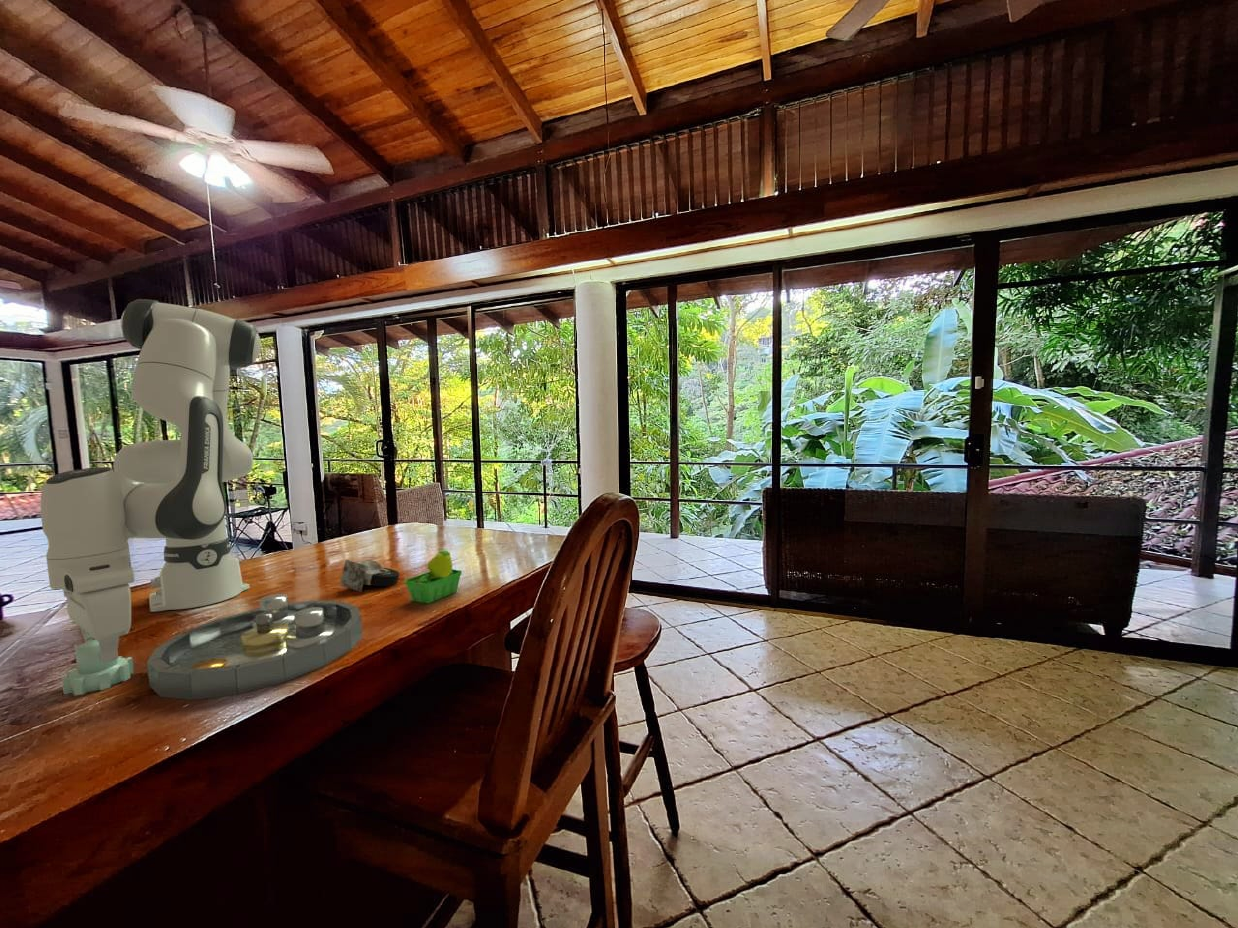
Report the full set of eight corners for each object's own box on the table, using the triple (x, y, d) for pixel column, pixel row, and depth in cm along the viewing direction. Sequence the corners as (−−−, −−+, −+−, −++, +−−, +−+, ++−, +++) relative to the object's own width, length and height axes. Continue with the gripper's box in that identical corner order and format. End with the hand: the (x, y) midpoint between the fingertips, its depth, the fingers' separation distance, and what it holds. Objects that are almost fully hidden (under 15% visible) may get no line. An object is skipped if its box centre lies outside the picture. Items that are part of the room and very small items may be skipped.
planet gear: (59, 686, 77) (54, 647, 76) (127, 666, 83) (123, 629, 83) (68, 700, 72) (63, 659, 72) (139, 677, 79) (135, 639, 78)
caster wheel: (402, 590, 127) (374, 597, 117) (367, 579, 130) (337, 585, 120) (408, 565, 127) (380, 571, 117) (373, 555, 130) (343, 559, 120)
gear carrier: (129, 666, 83) (124, 624, 82) (316, 609, 108) (314, 576, 107) (186, 721, 66) (181, 669, 65) (392, 638, 91) (389, 600, 90)
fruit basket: (441, 586, 121) (439, 542, 120) (468, 591, 117) (465, 545, 116) (403, 602, 111) (400, 554, 110) (431, 607, 107) (428, 557, 106)
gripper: (48, 567, 79) (59, 648, 80) (76, 584, 68) (87, 678, 69) (103, 558, 85) (112, 633, 86) (137, 572, 74) (147, 659, 75)
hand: (101, 653), depth 77 cm, fingers open, 8 cm apart
